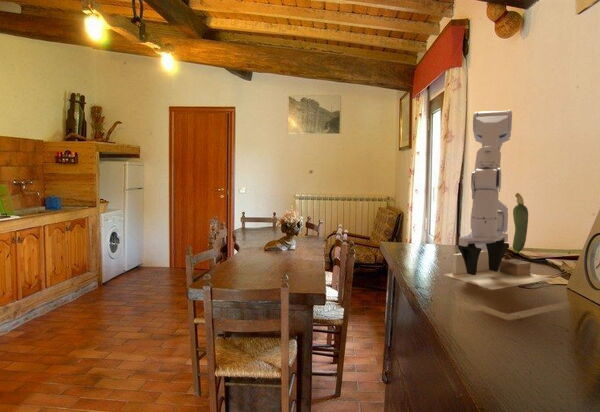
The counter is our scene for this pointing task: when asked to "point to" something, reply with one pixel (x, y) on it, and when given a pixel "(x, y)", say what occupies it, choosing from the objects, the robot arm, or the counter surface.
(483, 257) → the beige rectangular slab
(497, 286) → the birch board
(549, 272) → the counter surface
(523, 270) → the walnut block
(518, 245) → the vegetable
